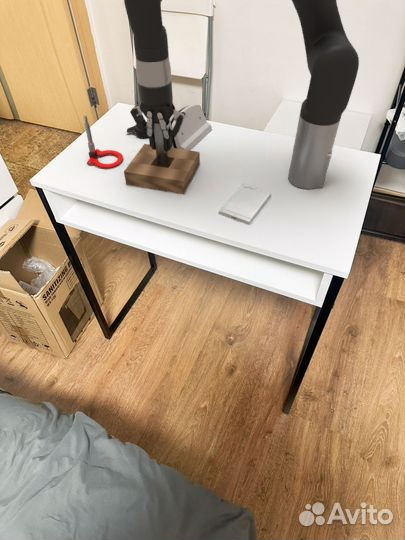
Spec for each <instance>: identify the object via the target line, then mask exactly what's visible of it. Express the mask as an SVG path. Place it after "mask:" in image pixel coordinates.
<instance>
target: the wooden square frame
mask: <svg viewBox="0 0 405 540" xmlns="http://www.w3.org/2000/svg"><path fill="white" fill-rule="evenodd" d="M200 154H201V153H200V151H195V150H191V151H190V150H183V149H177V148H171V149H170V150H169V152H168V163H167V164H164V165H161V164H158V163H157V158H156V149H155V150H153V149H152V147H150V143H149V144H148V143H144V144H143V145H142V146H141V148H139V150H138V152H137V153H136V154H135V156H134V157H133V158H132V160H131V161H130V162H129V164H128V165H127V166H126V168H125V169H124V171H123V174H124V179H125V185H127V186H133V187H140V188H144V189H150V190H156V191H160V192H161V191H162V192H165V193H166V192H167V193H171V194H179V195H185V193H186V192H187V190H188V187H189V186H190V185H191V182H192V180H193V178H194V176H195V175H196V173H197V171H198V169H199V167H200V165H201V162H200V161H201V160H200V156H201V155H200Z"/></svg>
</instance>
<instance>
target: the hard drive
mask: <svg viewBox="0 0 405 540" xmlns="http://www.w3.org/2000/svg"><path fill="white" fill-rule="evenodd" d="M271 197H272V193H271V192H268V191H265V190H262V189H259V188H256V187H252V186H250V185H246V184H241V185H240V186H239V187H238V189H237V190H236V191H235V192H234V193H233V195H232V196H231V197H230V198H229V199H228V200H227V202H226V203H225V204H224V205H223V206H222V207H221V209H220V210H219V211H218V215H221V216H222V217H226V218H228V219H232V220H234V221H237V222H240V223H243V224H245V225H248V226H250V225H251V223H252V222H253V221H254V219H256V217H257V216H258V215H259V213H260V212H261V211H262V209H263V208H264V206H265V205H266V204H267V203H268V201H269V200H270V199H271Z"/></svg>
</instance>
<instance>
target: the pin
mask: <svg viewBox="0 0 405 540" xmlns="http://www.w3.org/2000/svg"><path fill="white" fill-rule="evenodd" d="M153 131H154V140H155V149H156V158H157V163H158V164H161V165H164V164H167V163H168V152H166V151H165V144H164V138H165V137H164V133H163V130H162V129H161V125H160V124H159V123H153Z"/></svg>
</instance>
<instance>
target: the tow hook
mask: <svg viewBox="0 0 405 540" xmlns="http://www.w3.org/2000/svg"><path fill="white" fill-rule="evenodd" d="M83 118H84V119H83V120H84V128H85V132H86V138H87V141H88V143H87V146H88V151H89V152H88V157H89V159H88V160H87V162H86V165H87V166H89V167H92V166H95V167H96V168H98V169H103V170H112V169H115V168H118V167H120V166H121V165H122V164H123V162H124V156H123V154H122V153H121V152H119V151H117V150H113V149H108V150H107V149H106V150H101V149H99V148H96V146H95V142H93V137H92V131H91V127H90V126H91V125H90V123H89V121H88V116H87V115H83ZM105 156H112V157H113V156H114V157H116V158H117V160H116V161H114V162H111V163H103V162H101V161H100V160H99V159H98V158H102V157H105Z"/></svg>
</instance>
